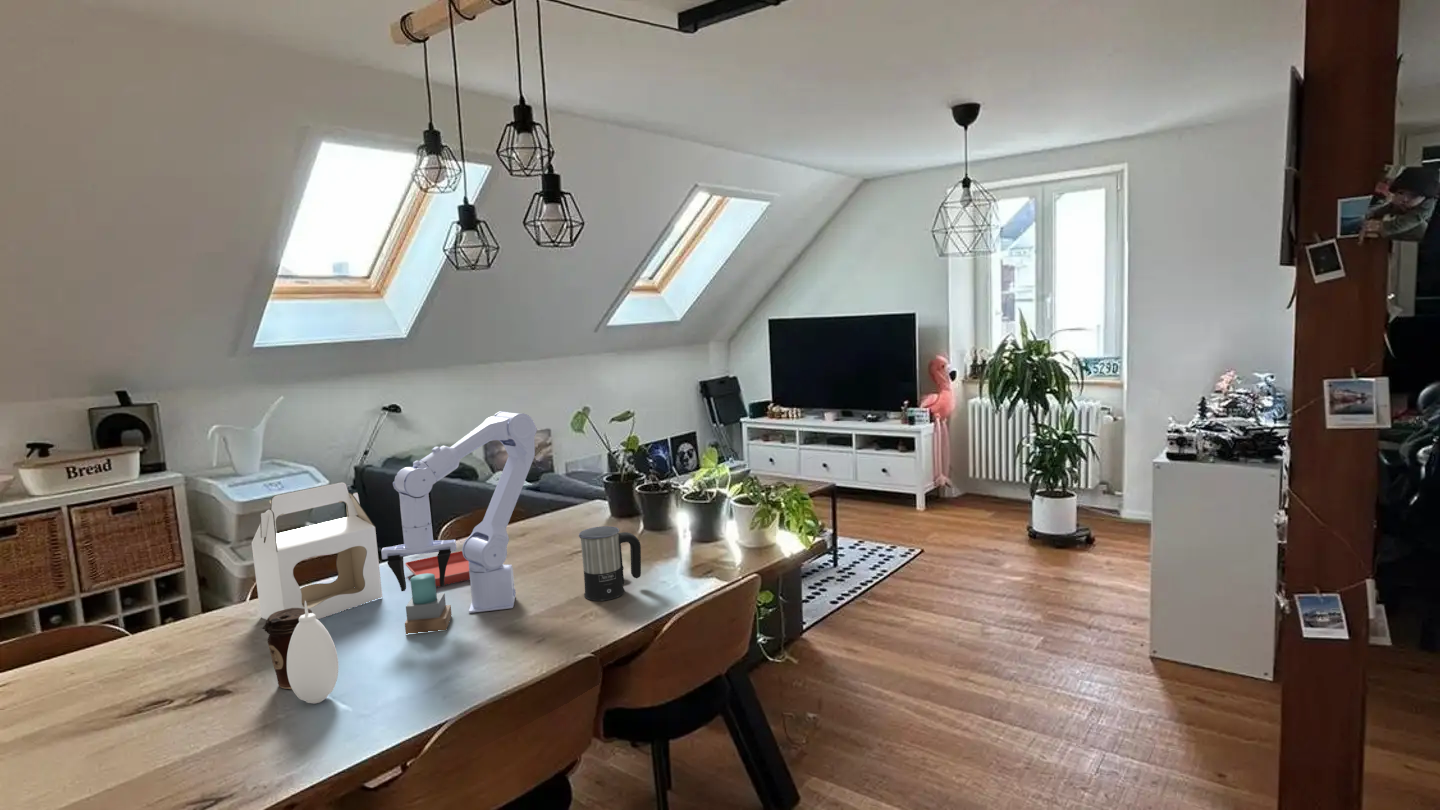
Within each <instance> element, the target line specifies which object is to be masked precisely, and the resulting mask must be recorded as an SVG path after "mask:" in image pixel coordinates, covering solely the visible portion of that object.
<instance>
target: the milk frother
mask: <svg viewBox="0 0 1440 810" xmlns="http://www.w3.org/2000/svg"><path fill="white" fill-rule="evenodd" d="M578 538H579V539H580V543H581V544H580V546H581V555H582V556H581V557H582V566H583V577H584V578H583V579H584V593H583V596H584V598H585V599H587V600H590V601H597V602H599V601H601V602H603V601H609V600H614V599H617V598H619V597H621V596H623V594H624V593H625V588H624V585H625V578H624V564H623V553H622V544H623V543H628V544H629V545H630V546H629V548H630V551H629V552H630V553H629V554H630V574H631V576H632V577H633V578H634V579H640V577H641V575H642V565H641V564H642V555H641V553H642V547H641V542H640V540H639V539H638V537H637V536H635V534H633V533H630V532H627V531H624V532H620V528H618V527H616V526H606V525H605V526H595V527H589V528H586V529H583V530H581V531H580V532H579V533H578Z"/></svg>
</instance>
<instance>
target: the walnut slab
mask: <svg viewBox="0 0 1440 810" xmlns="http://www.w3.org/2000/svg"><path fill="white" fill-rule="evenodd" d="M451 615H452V604H447V605H446V607H445V609H444V610H443V612H442V614H441V616H440V617H439V618H429V619H419V620H409V621H407V619H406V620H405V622H404V629H405V635H406V634H408V633H418V632H428V631H438V630H446V629H447V630H448V628H447V627H449V625H450V622H451V620H450V618H451V619H452V617H451ZM449 621H450V622H449ZM448 624H449V625H448ZM447 630H446V631H447ZM438 632H439V631H438Z"/></svg>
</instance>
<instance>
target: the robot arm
mask: <svg viewBox="0 0 1440 810" xmlns="http://www.w3.org/2000/svg"><path fill="white" fill-rule="evenodd" d="M537 431H538V427H537V425H536V424H535V422H534V420H533V418H532V417H531V416H530V415H529V414H527V413H525V412H524V413H520V412H519V413H517V412H510V411H509V412H508V411H505V410H500V411H498V412H496V413H494V415H491V416H489V417H487V418H486V419H485V420H484V421H483V422H481V424H479V425H478V426H476V427H475V428H474V429H472V430H471V431H469V432H468V433H467V434H465V436H463V437H462V438H460V439H459V440H458V441H457V442H455V443H454V444H452V445H451V446H447V445H441V446H434V447H433V448H431V452H430V453H429V454H427V455H426V456H424V457H423V458H421V459H419V460H415V461H413V463H412V466H406V467H403V468H401V469H399V470H398V471H397V472H396V475H395V476H394V481H393V482H392V486H393V489H394V490H395V491H396V492H398V495H399V506H400V507H399V508H400V518H401V527H402V536H403V544H398V545H393V546H386V547H382V549H381V560H387V562H386V563H387V565H388V567H389V568H390V570H391V571H392V572H393V574H394V576H395V577H396V579H397V581H398V584H399V587H400V591H401V592H405V591H406V589H407V581H406V575H405V569H404V566H405V563H404V557H406V556H414V555H422V554H423V555H424V554H431V553H438V554H437V555H436V556H437V558H438V565H439V573H440V586H439V587H444V586H445V585H444V583H445V582H444V580H445V571H446V566H447V563H448V560H449V557H450V554H451V553H452V552H457V541H456V539H447V540H444V539H443V540H442V539H441V540H438V539H437V540H436V539H435V540H434V536H433V526H432V525H433V524H432V515H431V504H430V503H431V502H430V497H429V496H430V495H429V493H430V492H431V491H432V489H433V486H434V485H435V484H436V483H438V482H440V480H442V479H443V478H445V477H446V476H448V475H449V474H451V473H453V472H454V471H455V470H456V469H458V468H459V465H460V462H461V459H463V458H465V457H466V456H468V455H469V454H471V453H472V452H474V451H476V450H478V449H479V448H481V447H483V446H485V445H486V444H488V443H489V442H491V441H499V442H500V443H501V445H503V447H504V449H505V452H506V453H507V459H506V462H505V465H504V467H503V470H502V472H501V474H500V477H499V479H498V482H497V484H496V487H495V488H494V489H495V490H494V492H493V494H492V495H491V496H492V497H491V499H490V502H489V504H488V506H487V509H486V512H485V514H484V517H483V519H482V521H481V522H480V523H478V524H476V525H475V526H474V528H473V529H472V532H471V533H470V535H469V536H467V538H465V541H464V542H463V544H462V548H461V551H462V553H463V556H464V558H465V559H466V560H468V561H469V575H470V580H469V582H470V583H469V585H470V593H471V596H470V597H471V603H470V605H469V609H468V613H469V614H473V613H482V612H489V611H498V610H500V611H501V610H506V609H513V608H514V605H515V600H516V593H517V592H516V588H515V580H514V568H513V565H512V564H504V563H505V562H506V559H507V556H508V551H507V550H508V544H509V542H510V537H509V535H508V531H507V527H508V524H509V522H510V520H511V517H512V514H513V511H514V509H515V507H516V505H517V502H518V501H519V497H520V494H521V491H522V490H523V487H524V485H525V481H526V479H527V477H528V474H529V471H530V469H531V466H532V464H533V462H534V459H535V454H536V452H535V451H536V447H535V444H536V443H535V437H536V434H537Z"/></svg>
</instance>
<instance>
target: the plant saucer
mask: <svg viewBox="0 0 1440 810" xmlns="http://www.w3.org/2000/svg"><path fill="white" fill-rule="evenodd" d="M404 565H405V566H406V567H407V568H408V569H409V570H410V572H411V573H412V574H413V575H414V576H416V575H419V574H426V573H430V574H434V575H435V584H436V588H438V587H437V586H439V587H441V586H440V573H439V565H438V558H437V555H436V556H431V557H426V558H421V559H416V560H411V561H407V562H405V563H404ZM469 579H470V575H469V561H468V560H466V559H465V558H464V556H463V553H462V550H460V551H454V552H451V554H450V557H449V560H448V563H447V566H446V571H445V580H444V582H445V583H444V586H447V585H446V584H448V585H452V584H455V582H457V583H460V581H461V582H464V580H465V581H470V580H469ZM451 583H452V584H451Z"/></svg>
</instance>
